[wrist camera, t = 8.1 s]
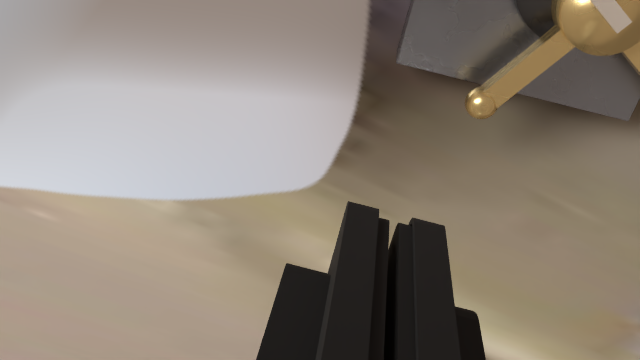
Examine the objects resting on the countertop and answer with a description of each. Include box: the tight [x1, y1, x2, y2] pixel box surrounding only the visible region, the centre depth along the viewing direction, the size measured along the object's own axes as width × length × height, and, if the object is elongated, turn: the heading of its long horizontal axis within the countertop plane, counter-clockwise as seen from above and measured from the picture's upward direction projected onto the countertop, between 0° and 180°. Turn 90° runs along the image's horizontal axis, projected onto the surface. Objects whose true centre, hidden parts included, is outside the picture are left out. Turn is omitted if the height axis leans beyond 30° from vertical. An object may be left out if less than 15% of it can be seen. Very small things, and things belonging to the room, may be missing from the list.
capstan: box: [465, 0, 640, 119], centre depth 30 cm, size 17×17×4 cm
